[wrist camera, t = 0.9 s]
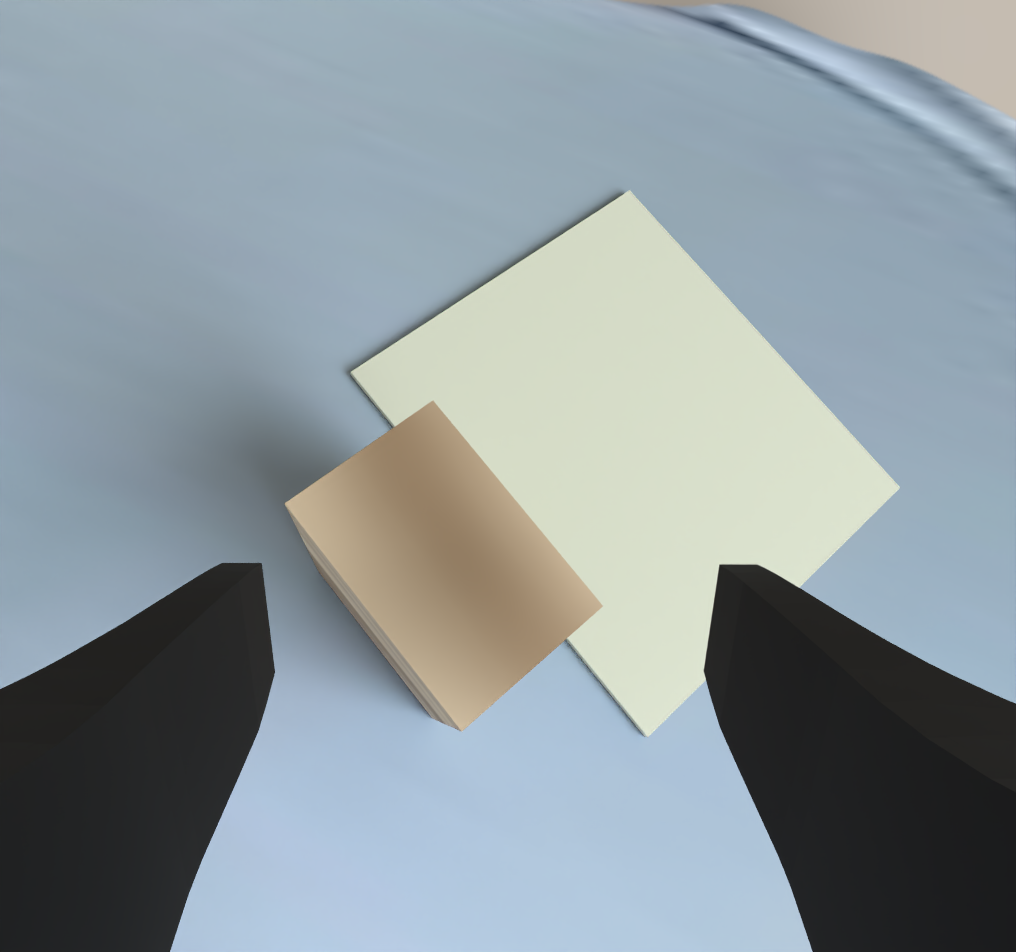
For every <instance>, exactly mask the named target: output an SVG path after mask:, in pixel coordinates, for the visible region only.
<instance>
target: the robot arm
mask: <svg viewBox="0 0 1016 952" xmlns="http://www.w3.org/2000/svg"><path fill="white" fill-rule="evenodd" d="M274 674H275V669H274V661H273V653H272V644H271V636H270V628H269V620H268V611H267V603H266V595H265V587H264V578H263V570H262V563H221V564H219V565H217V566H215V567H213V568H211V569H210V570H208V571H206V572H204V573H203V574H201V575H199V576H198V577H196V578H194V579H193V580H191V581H190V582H188V583H186V584H185V585H183V586H182V587H180V588H178V589H177V590H175V591H174V592H172V593H171V594H169V595H167V596H166V597H164V598H163V599H161V600H159V601H158V602H156V603H155V604H153V605H151V606H150V607H148V608H147V609H145V610H143V611H142V612H140V613H139V614H137V615H135V616H134V617H132V618H131V619H129V620H127V621H126V622H124V623H123V624H121V625H119V626H117V627H116V628H114V629H112V630H110V631H109V632H107V633H105V634H104V635H102V636H100V637H98V638H97V639H95V640H93V641H91V642H90V643H88V644H86V645H84V646H83V647H81V648H79V649H77V650H76V651H74V652H72V653H70V654H69V655H67V656H65V657H63V658H62V659H60V660H58V661H56V662H54V663H52V664H50V665H48V666H47V667H45V668H43V669H41V670H39V671H37V672H35V673H33V674H31V675H29V676H27V677H25V678H23V679H21V680H19V681H17V682H14V683H12V684H10V685H8V686H6V687H4V688H2V689H0V952H170V950H171V947H172V944H173V940H174V937H175V934H176V931H177V928H178V925H179V922H180V919H181V916H182V913H183V910H184V907H185V904H186V900H187V897H188V894H189V892H190V889H191V887H192V884H193V881H194V879H195V876H196V874H197V871H198V869H199V866H200V864H201V861H202V859H203V856H204V854H205V852H206V850H207V847H208V845H209V843H210V841H211V838H212V836H213V834H214V832H215V829H216V827H217V825H218V822H219V820H220V818H221V816H222V813H223V811H224V809H225V807H226V804H227V802H228V800H229V798H230V795H231V793H232V791H233V788H234V786H235V784H236V782H237V779H238V777H239V775H240V773H241V770H242V768H243V766H244V763H245V761H246V759H247V756H248V754H249V752H250V749H251V747H252V745H253V742H254V740H255V738H256V735H257V733H258V730H259V727H260V724H261V721H262V717H263V714H264V711H265V707H266V704H267V700H268V696H269V693H270V689H271V685H272V681H273V678H274ZM704 674H705V678H706V681H707V685H708V689H709V692H710V696H711V699H712V703H713V706H714V709H715V713H716V716H717V719H718V722H719V725H720V728H721V730H722V733H723V735H724V737H725V740H726V742H727V744H728V746H729V749H730V751H731V753H732V755H733V758H734V760H735V762H736V764H737V766H738V769H739V771H740V773H741V775H742V777H743V780H744V782H745V784H746V786H747V788H748V791H749V793H750V795H751V797H752V799H753V802H754V804H755V806H756V808H757V810H758V812H759V815H760V817H761V819H762V821H763V823H764V826H765V828H766V830H767V832H768V834H769V836H770V839H771V841H772V843H773V845H774V847H775V850H776V852H777V854H778V856H779V859H780V861H781V864H782V866H783V869H784V871H785V874H786V876H787V879H788V881H789V883H790V886H791V889H792V892H793V895H794V898H795V901H796V904H797V907H798V910H799V913H800V915H801V918H802V921H803V924H804V927H805V930H806V933H807V936H808V939H809V942H810V945H811V948H812V951H813V952H1016V704H1015V703H1013V702H1010V701H1008V700H1006V699H1003V698H1001V697H999V696H997V695H994V694H992V693H990V692H988V691H986V690H984V689H981V688H979V687H977V686H975V685H973V684H970V683H968V682H966V681H964V680H962V679H960V678H957V677H955V676H953V675H951V674H949V673H947V672H945V671H943V670H941V669H939V668H937V667H935V666H933V665H931V664H929V663H927V662H925V661H923V660H922V659H920V658H918V657H916V656H914V655H912V654H910V653H909V652H907V651H905V650H903V649H901V648H899V647H898V646H896V645H894V644H892V643H890V642H888V641H887V640H885V639H883V638H881V637H880V636H878V635H876V634H874V633H873V632H871V631H869V630H868V629H866V628H864V627H862V626H861V625H859V624H857V623H856V622H854V621H852V620H851V619H849V618H847V617H846V616H844V615H842V614H841V613H839V612H838V611H836V610H834V609H833V608H831V607H829V606H828V605H826V604H825V603H823V602H821V601H820V600H818V599H816V598H815V597H813V596H812V595H810V594H808V593H807V592H805V591H804V590H802V589H800V588H799V587H797V586H795V585H794V584H792V583H791V582H789V581H787V580H785V579H784V578H782V577H780V576H779V575H777V574H775V573H773V572H772V571H770V570H768V569H766V568H764V567H762V566H760V565H757V564H719V570H718V577H717V583H716V590H715V597H714V604H713V611H712V617H711V624H710V631H709V638H708V645H707V651H706V658H705V665H704Z"/></svg>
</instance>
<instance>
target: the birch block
mask: <svg viewBox="0 0 1016 952" xmlns="http://www.w3.org/2000/svg"><path fill="white" fill-rule="evenodd" d="M285 505H286V507H287V509H288V511H289V513H290V515H291V517H292V519H293V521H294V523H295V525H296V527H297V529H298V531H299V533H300V535H301V537H302V539H303V541H304V543H305V545H306V547H307V549H308V551H309V553H310V555H311V557H312V559H313V561H314V563H315V565H316V567H317V569H318V571H319V573H320V574H321V575H322V577H323V578H324V579H325V580H326V582H327V583H328V584H329V586H330V587H331V588H332V590H333V591H334V592H335V593H336V595H337V596H338V597H339V599H340V600H341V601H342V602H343V604H344V605H345V606H346V608H347V609H348V610H349V612H350V613H351V614H352V615H353V617H354V618H355V619H356V621H357V622H358V623H359V624H360V626H361V627H362V628H363V630H364V631H365V632H366V634H367V635H368V636H369V637H370V639H371V640H372V641H373V643H374V644H375V645H376V646H377V648H378V649H379V650H380V652H381V653H382V654H383V655H384V657H385V658H386V659H387V661H388V662H389V663H390V665H391V666H392V667H393V668H394V670H395V671H396V672H397V674H398V675H399V676H400V677H401V679H402V680H403V681H404V683H405V684H406V685H407V687H408V688H409V689H410V690H411V692H412V693H413V694H414V696H415V697H416V698H417V699H418V701H419V702H420V703H421V705H422V706H423V707H424V709H425V710H426V711H427V712H428V714H429V715H430V716H431V718H433V719H435V720H437V721H439V722H442V723H444V724H446V725H448V726H451V727H453V728H455V729H457V730H459V731H463V730H464V729H465V728H466V727H467V726H469V725H470V724H471V723H472V722H473V721H474V720H475V719H476V718H478V717H479V716H480V715H481V714H482V713H483V712H484V711H486V710H487V709H488V708H489V707H490V706H491V705H492V704H493V703H495V702H496V701H497V700H498V699H499V698H500V697H501V696H502V695H504V694H505V693H506V692H507V691H508V690H509V689H510V688H511V687H513V686H514V685H515V684H516V683H517V682H518V681H519V680H520V679H522V678H523V677H524V676H525V675H526V674H527V673H528V672H530V671H531V670H532V669H533V668H534V667H535V666H536V665H537V664H539V663H540V662H541V661H542V660H543V659H544V658H545V657H546V656H548V655H549V654H550V653H551V652H552V651H553V650H554V649H555V648H557V647H558V646H559V645H560V644H561V643H562V642H563V641H565V640H566V639H567V638H568V637H569V636H570V635H571V634H572V633H574V632H575V631H576V630H577V629H578V628H579V627H580V626H581V625H583V624H584V623H585V622H586V621H587V620H588V619H589V618H590V617H592V616H593V615H594V614H595V613H596V612H597V611H598V610H599V609H601V608H602V607H603V605H602V604H601V603H600V602H599V600H598V599H597V598H596V597H595V596H594V594H593V593H592V592H591V591H590V590H589V588H588V587H587V586H586V585H585V583H584V582H583V581H582V580H581V579H580V577H579V576H578V575H577V574H576V573H575V571H574V570H573V569H572V568H571V567H570V565H569V564H568V563H567V562H566V561H565V559H564V558H563V557H562V556H561V554H560V553H559V552H558V551H557V550H556V548H555V547H554V546H553V545H552V544H551V542H550V541H549V540H548V539H547V538H546V536H545V535H544V534H543V533H542V531H541V530H540V529H539V528H538V527H537V525H536V524H535V523H534V522H533V521H532V519H531V518H530V517H529V516H528V515H527V513H526V512H525V511H524V510H523V508H522V507H521V506H520V505H519V504H518V502H517V501H516V500H515V499H514V498H513V496H512V495H511V494H510V493H509V492H508V490H507V489H506V488H505V487H504V486H503V484H502V483H501V482H500V481H499V479H498V478H497V477H496V476H495V475H494V473H493V472H492V471H491V470H490V469H489V467H488V466H487V465H486V464H485V463H484V461H483V460H482V459H481V458H480V456H479V455H478V454H477V453H476V452H475V450H474V449H473V448H472V447H471V446H470V444H469V443H468V442H467V441H466V440H465V438H464V437H463V436H462V435H461V434H460V432H459V431H458V430H457V429H456V427H455V426H454V425H453V424H452V423H451V421H450V420H449V419H448V418H447V417H446V415H445V414H444V413H443V412H442V411H441V409H440V408H439V407H438V406H437V404H436V403H435V402H434V401H431V402H430V403H428V404H427V405H425V406H424V407H423V408H421V409H420V410H418V411H417V412H415V413H414V414H412V415H411V416H410V417H408V418H407V419H405V420H404V421H402V422H401V423H400V424H398V425H397V426H395V427H394V428H392V429H391V430H389V431H388V432H387V433H385V434H384V435H382V436H381V437H379V438H378V439H376V440H375V441H374V442H372V443H371V444H369V445H368V446H366V447H365V448H364V449H362V450H361V451H359V452H358V453H356V454H355V455H353V456H352V457H351V458H349V459H348V460H346V461H345V462H343V463H342V464H341V465H339V466H338V467H336V468H335V469H333V470H332V471H330V472H329V473H328V474H326V475H325V476H323V477H322V478H320V479H319V480H318V481H316V482H315V483H313V484H312V485H310V486H309V487H307V488H306V489H305V490H303V491H302V492H300V493H299V494H297V495H296V496H294V497H293V498H292V499H290V500H289V501H287V502H286V503H285Z"/></svg>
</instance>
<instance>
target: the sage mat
mask: <svg viewBox="0 0 1016 952" xmlns="http://www.w3.org/2000/svg"><path fill="white" fill-rule="evenodd" d="M351 376H352V377H353V379H354V380H355V381H356V382H357V384H358V385H359V386H360V387H361V388H362V390H363V391H364V392H365V393H366V395H367V396H368V397H369V398H370V400H371V401H372V402H373V403H374V404H375V406H376V407H377V408H378V409H379V411H380V412H381V413H382V414H383V415H384V417H385V418H386V419H387V420H388V422H389V423H390V424H391V425H392V427H393V428H394V427H395V426H397V425H398V424H400V423H401V422H402V421H404V420H405V419H407V418H408V417H410V416H411V415H412V414H414V413H415V412H417V411H418V410H420V409H421V408H423V407H424V406H425V405H427V404H428V403H430V402H431V401H434V402H435V403H436V404H437V406H438V407H439V408H440V409H441V411H442V412H443V413H444V414H445V415H446V417H447V418H448V419H449V420H450V421H451V423H452V424H453V425H454V426H455V427H456V429H457V430H458V431H459V432H460V434H461V435H462V436H463V437H464V438H465V440H466V441H467V442H468V443H469V444H470V446H471V447H472V448H473V449H474V450H475V452H476V453H477V454H478V455H479V456H480V458H481V459H482V460H483V461H484V463H485V464H486V465H487V466H488V467H489V469H490V470H491V471H492V472H493V473H494V475H495V476H496V477H497V478H498V479H499V481H500V482H501V483H502V484H503V486H504V487H505V488H506V489H507V490H508V492H509V493H510V494H511V495H512V496H513V498H514V499H515V500H516V501H517V502H518V504H519V505H520V506H521V507H522V508H523V510H524V511H525V512H526V513H527V515H528V516H529V517H530V518H531V519H532V521H533V522H534V523H535V524H536V525H537V527H538V528H539V529H540V530H541V531H542V533H543V534H544V535H545V536H546V538H547V539H548V540H549V541H550V542H551V544H552V545H553V546H554V547H555V548H556V550H557V551H558V552H559V553H560V554H561V556H562V557H563V558H564V559H565V561H566V562H567V563H568V564H569V565H570V567H571V568H572V569H573V570H574V571H575V573H576V574H577V575H578V576H579V577H580V579H581V580H582V581H583V582H584V583H585V585H586V586H587V587H588V588H589V590H590V591H591V592H592V593H593V594H594V596H595V597H596V598H597V599H598V600H599V602H600V603H601V604H602V605H603V607H602V608H601V609H599V610H598V611H597V612H596V613H595V614H594V615H593V616H592V617H590V618H589V619H588V620H587V621H586V622H585V623H584V624H583V625H581V626H580V627H579V628H578V629H577V630H576V631H575V632H574V633H572V634H571V635H570V636H569V637H568V638H567V639H566V641H567V642H568V643H569V644H570V646H571V647H572V648H573V649H574V650H575V652H576V653H577V654H578V655H579V657H580V658H581V659H582V660H583V661H584V663H585V664H586V665H587V666H588V668H589V669H590V670H591V671H592V673H593V674H594V675H595V676H596V677H597V679H598V680H599V681H600V682H601V684H602V685H603V686H604V687H605V689H606V690H607V691H608V692H609V693H610V695H611V696H612V697H613V698H614V700H615V701H616V702H617V703H618V705H619V706H620V707H621V708H622V709H623V711H624V712H625V713H626V714H627V716H628V717H629V718H630V719H631V721H632V722H633V723H634V724H635V725H636V727H637V728H638V729H639V730H640V732H641V733H642V734H643V735H644V737H649V736H650V735H651V734H652V733H653V732H654V731H655V730H656V729H657V728H658V727H659V726H660V725H661V724H662V723H663V722H664V721H665V720H666V719H667V718H668V717H669V716H670V715H671V714H672V713H673V712H674V711H675V710H676V709H677V708H678V707H679V706H680V705H681V704H682V703H683V702H684V701H685V700H686V699H687V698H688V697H689V696H690V695H691V694H692V693H693V692H694V691H695V690H696V689H697V688H698V687H699V686H700V685H701V684H702V683H703V682H704V681H705V680H706V678H705V674H704V665H705V658H706V651H707V645H708V638H709V631H710V624H711V617H712V611H713V604H714V597H715V590H716V583H717V577H718V570H719V564H757V565H760V566H762V567H764V568H766V569H768V570H770V571H772V572H773V573H775V574H777V575H779V576H780V577H782V578H784V579H785V580H787V581H789V582H791V583H792V584H794V585H795V586H797V587H800V586H801V585H802V584H803V583H804V582H805V581H806V580H807V579H808V578H809V577H810V576H811V575H812V574H813V573H814V572H815V571H816V570H817V569H818V568H819V567H820V566H821V565H822V564H823V563H824V562H825V561H826V560H827V559H828V558H829V557H831V556H832V555H833V554H834V553H835V552H836V551H837V550H838V549H839V548H840V547H841V546H842V545H843V544H844V543H845V542H846V541H847V540H848V539H849V538H850V537H851V536H852V535H853V534H854V533H855V532H856V531H857V530H858V529H859V528H860V527H861V526H862V525H863V524H864V523H865V522H866V521H867V520H868V519H869V518H870V517H871V516H872V515H873V514H874V513H875V512H876V511H877V510H878V509H879V508H880V507H881V506H882V505H883V504H884V503H885V502H886V501H887V500H888V499H889V498H890V497H891V496H892V495H893V494H894V493H895V492H896V491H897V490H898V489H899V488H900V487H899V486H898V485H897V484H896V483H895V482H894V480H893V479H892V478H891V477H890V476H889V475H888V474H887V473H886V472H885V471H884V469H883V468H882V467H881V466H880V465H879V464H878V463H877V462H876V461H875V460H874V458H873V457H872V456H871V455H870V454H869V453H868V452H867V451H866V450H865V449H864V447H863V446H862V445H861V444H860V443H859V442H858V441H857V440H856V439H855V438H854V436H853V435H852V434H851V433H850V432H849V431H848V430H847V429H846V428H845V427H844V426H843V424H842V423H841V422H840V421H839V420H838V419H837V418H836V417H835V416H834V415H833V413H832V412H831V411H830V410H829V409H828V408H827V407H826V406H825V405H824V404H823V402H822V401H821V400H820V399H819V398H818V397H817V396H816V395H815V394H814V393H813V391H812V390H811V389H810V388H809V387H808V386H807V385H806V384H805V383H804V382H803V380H802V379H801V378H800V377H799V376H798V375H797V374H796V373H795V372H794V371H793V369H792V368H791V367H790V366H789V365H788V364H787V363H786V362H785V361H784V360H783V358H782V357H781V356H780V355H779V354H778V353H777V352H776V351H775V350H774V349H773V347H772V346H771V345H770V344H769V343H768V342H767V341H766V340H765V339H764V338H763V336H762V335H761V334H760V333H759V332H758V331H757V330H756V329H755V328H754V327H753V326H752V324H751V323H750V322H749V321H748V320H747V319H746V318H745V317H744V316H743V315H742V313H741V312H740V311H739V310H738V309H737V308H736V307H735V306H734V305H733V304H732V302H731V301H730V300H729V299H728V298H727V297H726V296H725V295H724V294H723V293H722V291H721V290H720V289H719V288H718V287H717V286H716V285H715V284H714V283H713V282H712V280H711V279H710V278H709V277H708V276H707V275H706V274H705V273H704V272H703V271H702V269H701V268H700V267H699V266H698V265H697V264H696V263H695V262H694V261H693V260H692V258H691V257H690V256H689V255H688V254H687V253H686V252H685V251H684V250H683V249H682V247H681V246H680V245H679V244H678V243H677V242H676V241H675V240H674V239H673V238H672V236H671V235H670V234H669V233H668V232H667V231H666V230H665V229H664V228H663V227H662V226H661V224H660V223H659V222H658V221H657V220H656V219H655V218H654V217H653V216H652V215H651V213H650V212H649V211H648V210H647V209H646V208H645V207H644V206H643V205H642V204H641V202H640V201H639V200H638V199H637V198H636V197H635V196H634V195H633V194H632V193H631V191H630V190H629V191H628V192H626V193H625V194H623V195H622V196H620V197H619V198H617V199H616V200H614V201H613V202H611V203H609V204H608V205H606V206H605V207H603V208H602V209H600V210H599V211H597V212H596V213H594V214H593V215H591V216H589V217H588V218H586V219H585V220H583V221H582V222H580V223H579V224H577V225H576V226H574V227H573V228H571V229H569V230H568V231H566V232H565V233H563V234H562V235H560V236H559V237H557V238H556V239H554V240H553V241H551V242H550V243H548V244H546V245H545V246H543V247H542V248H540V249H539V250H537V251H536V252H534V253H533V254H531V255H530V256H528V257H526V258H525V259H523V260H522V261H520V262H519V263H517V264H516V265H514V266H513V267H511V268H510V269H508V270H506V271H505V272H503V273H502V274H500V275H499V276H497V277H496V278H494V279H493V280H491V281H490V282H488V283H487V284H485V285H483V286H482V287H480V288H479V289H477V290H476V291H474V292H473V293H471V294H470V295H468V296H467V297H465V298H463V299H462V300H460V301H459V302H457V303H456V304H454V305H453V306H451V307H450V308H448V309H447V310H445V311H443V312H442V313H440V314H439V315H437V316H436V317H434V318H433V319H431V320H430V321H428V322H427V323H425V324H424V325H422V326H420V327H419V328H417V329H416V330H414V331H413V332H411V333H410V334H408V335H407V336H405V337H404V338H402V339H400V340H399V341H397V342H396V343H394V344H393V345H391V346H390V347H388V348H387V349H385V350H384V351H382V352H380V353H379V354H377V355H376V356H374V357H373V358H371V359H370V360H368V361H367V362H365V363H364V364H362V365H361V366H359V367H357V368H356V369H354V370H353V371H351Z"/></svg>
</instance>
